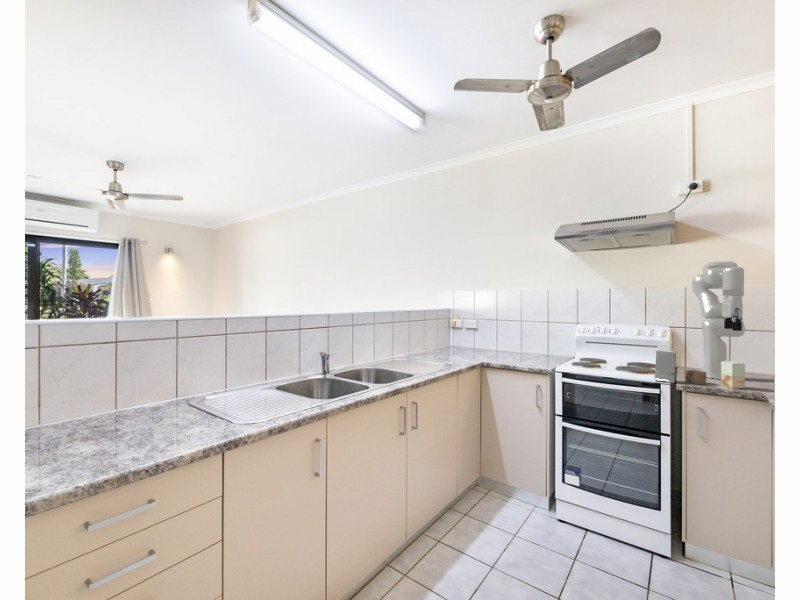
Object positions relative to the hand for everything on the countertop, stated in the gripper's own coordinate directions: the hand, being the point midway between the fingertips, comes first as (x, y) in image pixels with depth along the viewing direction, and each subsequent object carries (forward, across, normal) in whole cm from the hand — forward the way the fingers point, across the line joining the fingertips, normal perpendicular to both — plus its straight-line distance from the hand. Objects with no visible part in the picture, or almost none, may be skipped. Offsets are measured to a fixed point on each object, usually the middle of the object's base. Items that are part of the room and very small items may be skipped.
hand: (732, 329), depth 177 cm
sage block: (+22, -2, +1) cm, 22 cm away
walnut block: (+28, -7, -12) cm, 31 cm away
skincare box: (+28, -4, -25) cm, 38 cm away
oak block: (+28, -2, +1) cm, 28 cm away
